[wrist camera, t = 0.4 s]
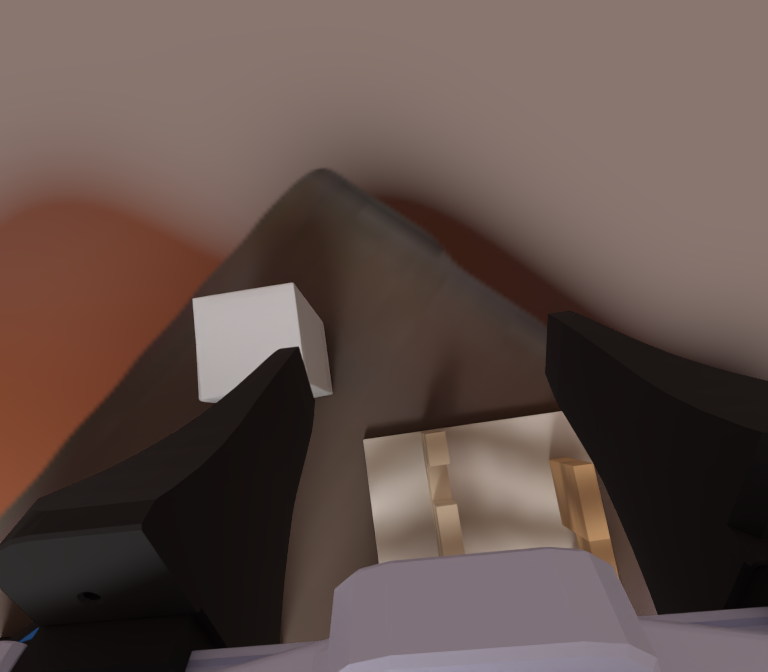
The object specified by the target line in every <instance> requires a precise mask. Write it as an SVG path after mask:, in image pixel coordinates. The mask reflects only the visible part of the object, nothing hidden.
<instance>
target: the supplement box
mask: <svg viewBox="0 0 768 672" xmlns="http://www.w3.org/2000/svg"><path fill="white" fill-rule="evenodd" d="M193 311H194V324H195V336H196V352H197V372H198V390H199V400H200V401H203V402H211V403H217V402H218V401H219V400H220V399H222V398H223V397H224V396H225V395H226V394H228V393H229V392H230V391H231V390H232V389H234V388H235V387H236V386H237V385H238V384H240V383H241V382H242V381H243V380H244V379H245V378H246V377H247V376H248V375H249V374H251V373H252V372H253V371H254V370H255V369H256V368H257V367H258V366H259V365H260V364H262V363H263V362H264V361H265V360H266V359H267V358H268V357H269V356H270V355H272V354H273V353H274V352H275V351H277V350H278V349H281V348H289V347H297V346H299V348H300V352H301V355H302V359H303V362H304V365H305V369H306V372H307V376H308V379H309V383H310V386H311V389H312V393H313V396H314V398H315V397H321V396H326V395H332V394H333V391H332V384H331V376H330V369H329V361H328V353H327V346H326V338H325V331H324V325H323V322H322V320H321V319H320V318H319V316H318V315H317V314H316V312H315V311H314V310H313V308H312V307H311V306H310V304H309V303H308V301H307V300H306V299H305V298H304V296H303V295H302V294H301V292H300V291H299V290H298V288H297V287H296V286H295V284H294V283H285V284H278V285H272V286H266V287H259V288H253V289H247V290H241V291H234V292H228V293H222V294H216V295H211V296H204V297H199V298H193Z"/></svg>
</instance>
